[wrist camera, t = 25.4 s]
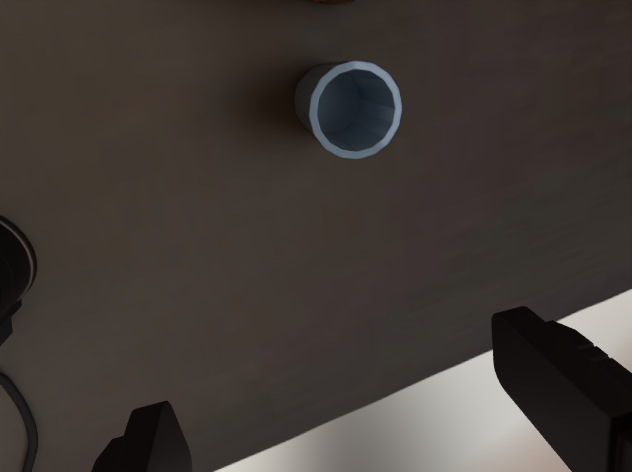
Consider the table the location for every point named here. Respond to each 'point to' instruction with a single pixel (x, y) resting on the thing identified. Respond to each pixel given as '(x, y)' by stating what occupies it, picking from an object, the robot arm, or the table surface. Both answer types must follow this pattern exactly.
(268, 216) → the table surface
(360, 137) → the enamel cup
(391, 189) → the table surface
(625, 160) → the table surface
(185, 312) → the table surface
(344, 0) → the flower pot
